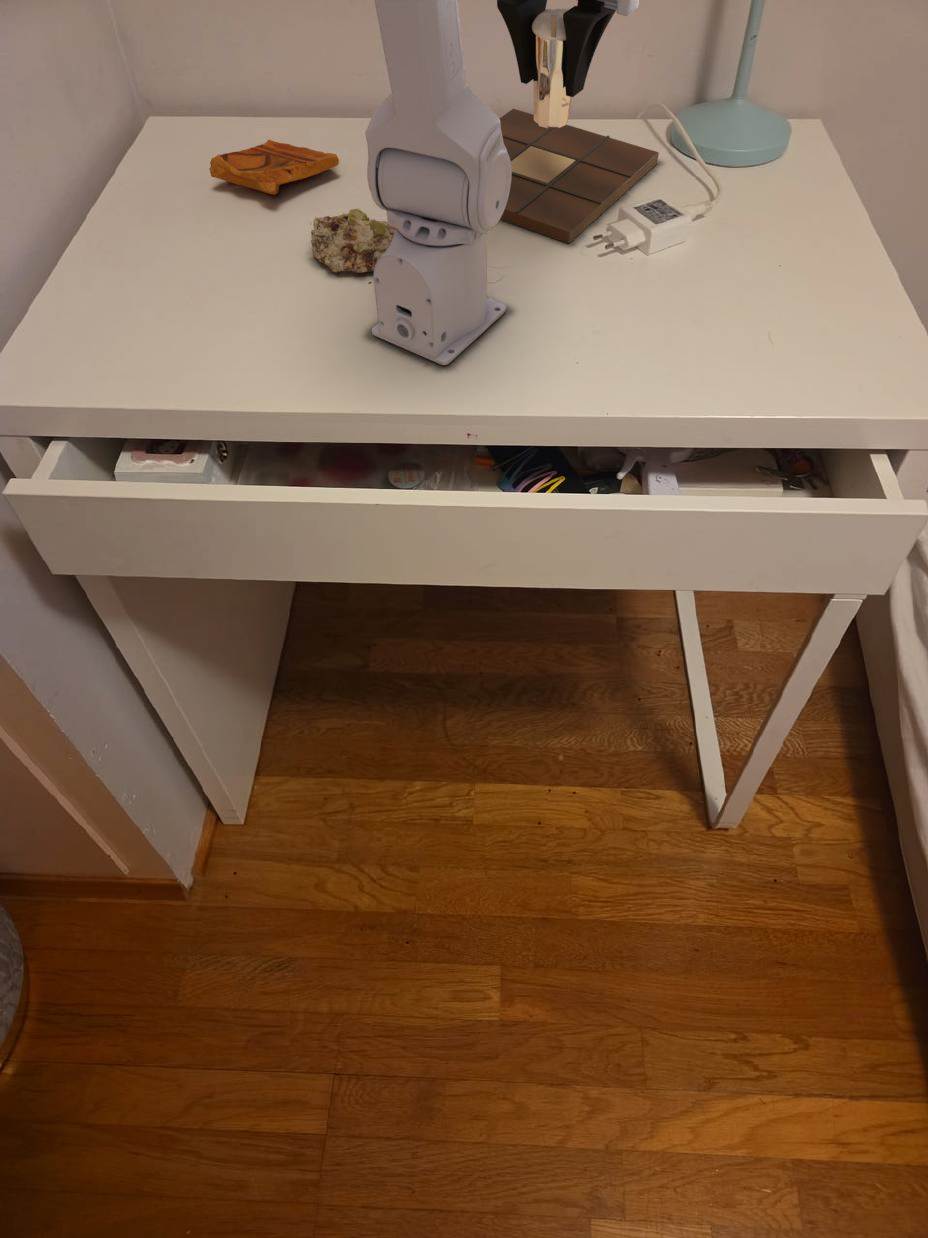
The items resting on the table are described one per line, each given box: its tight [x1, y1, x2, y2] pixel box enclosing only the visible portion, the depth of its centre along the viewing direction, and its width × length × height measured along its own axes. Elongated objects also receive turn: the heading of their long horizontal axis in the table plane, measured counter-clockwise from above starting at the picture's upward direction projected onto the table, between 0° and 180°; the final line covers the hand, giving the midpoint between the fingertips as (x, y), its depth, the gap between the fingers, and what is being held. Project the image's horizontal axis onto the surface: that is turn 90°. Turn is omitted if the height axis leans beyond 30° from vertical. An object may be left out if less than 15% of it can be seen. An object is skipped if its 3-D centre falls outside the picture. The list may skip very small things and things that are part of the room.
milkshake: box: [532, 8, 573, 129], centre depth 80 cm, size 4×5×10 cm
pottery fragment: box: [208, 139, 340, 196], centre depth 90 cm, size 10×5×10 cm
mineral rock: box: [310, 208, 395, 274], centre depth 82 cm, size 11×4×8 cm
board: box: [498, 108, 660, 244], centre depth 91 cm, size 18×18×1 cm
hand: (552, 85), depth 81 cm, fingers closed on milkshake, 4 cm apart
